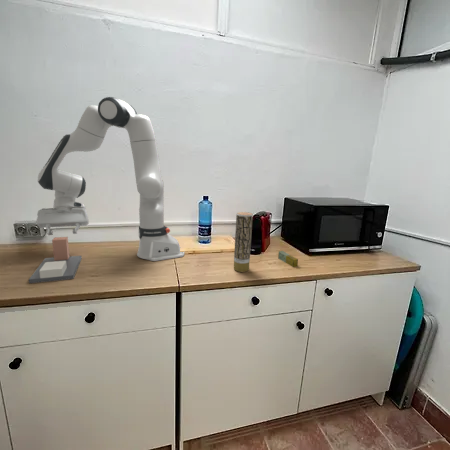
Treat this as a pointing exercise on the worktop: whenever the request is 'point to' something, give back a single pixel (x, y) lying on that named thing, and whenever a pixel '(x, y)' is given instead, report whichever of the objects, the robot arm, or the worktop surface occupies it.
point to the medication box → (288, 259)
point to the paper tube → (242, 241)
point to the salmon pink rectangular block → (60, 248)
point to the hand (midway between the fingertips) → (62, 233)
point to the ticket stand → (56, 269)
